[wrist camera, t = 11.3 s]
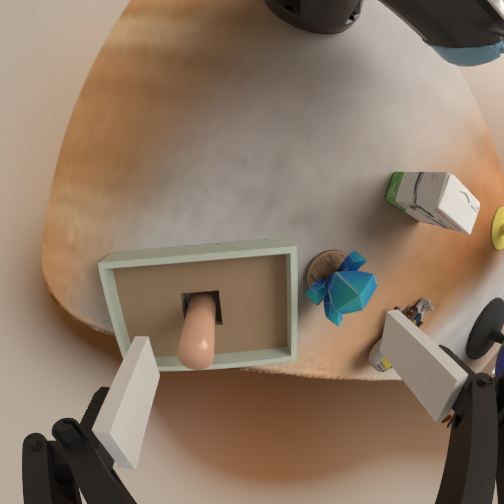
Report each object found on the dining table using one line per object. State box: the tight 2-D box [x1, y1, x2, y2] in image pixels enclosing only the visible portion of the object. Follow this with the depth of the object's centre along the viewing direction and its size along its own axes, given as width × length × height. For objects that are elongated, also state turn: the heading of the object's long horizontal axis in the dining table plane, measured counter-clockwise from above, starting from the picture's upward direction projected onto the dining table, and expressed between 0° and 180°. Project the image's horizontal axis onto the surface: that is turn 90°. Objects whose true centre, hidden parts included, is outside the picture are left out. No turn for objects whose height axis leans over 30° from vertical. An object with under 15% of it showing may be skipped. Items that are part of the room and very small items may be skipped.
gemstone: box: [304, 250, 377, 326], centre depth 33 cm, size 7×9×12 cm
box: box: [98, 238, 298, 371], centre depth 35 cm, size 16×24×5 cm, turn 94°
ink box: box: [386, 172, 480, 235], centre depth 31 cm, size 9×5×12 cm, turn 68°
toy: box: [368, 298, 434, 372], centre depth 41 cm, size 12×5×15 cm
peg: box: [177, 291, 216, 370], centre depth 31 cm, size 4×4×13 cm
